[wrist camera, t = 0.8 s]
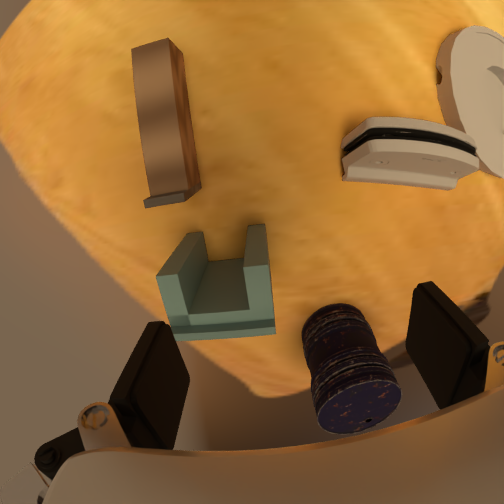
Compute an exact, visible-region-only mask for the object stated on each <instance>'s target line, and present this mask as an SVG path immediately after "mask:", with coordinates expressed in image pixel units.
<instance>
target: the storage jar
mask: <svg viewBox="0 0 504 504" xmlns="http://www.w3.org/2000/svg"><path fill="white" fill-rule="evenodd" d="M302 341H303V349H304V355H305V358H306V362H307V366H308V368H309V370H310V373H311V378H312V379H311V392H312V398H313V403H314V407H315V410H316V414H317V421H318V424H319V426H320V427H321V428H322V429H324V430H325V431H327V432H330V433H334V434H351V433H357V432H361V431H364V430H367V429H369V428H372V427H374V426H376V425H378V424H379V423H381V422H382V421H384V420H385V419H387V418H388V417H389V416H390V415H391V414H392V413H393V412H394V411H395V410H396V409H397V407H398V406H399V404H400V402H401V398H402V392H401V388H400V386H399V385H398V383H397V380H396V378H395V375H394V372H393V370H392V368H391V366H390V365H389V362H388V360H387V359H386V357H385V356H384V355H383V354H382V353H381V352H380V350H379V348H378V346H377V343H376V339H375V336H374V335H373V332H372V329H371V327H370V325H369V324H368V322H367V321H366V320H365V318H364V316H363V314H362V313H361V311H360V310H359V309H357V308H356V307H354V306H352V305H349V304H342V303H338V304H331V305H328V306H325V307H323V308H321V309H319V310H317V311H316V312H314V313H313V314H312V315H311V316H310V317H309V318H308V319H307V321H306V323H305V324H304V327H303V330H302Z"/></svg>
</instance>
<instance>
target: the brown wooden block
mask: <svg viewBox="0 0 504 504" xmlns="http://www.w3.org/2000/svg"><path fill="white" fill-rule="evenodd" d="M131 51H132V65H133V77H134V88H135V97H136V106H137V114H138V122H139V129H140V136H141V143H142V150H143V156H144V162H145V168H146V174H147V179H148V185H149V190H150V195H151V196H150V197H148V198H146V199H145V200H143V201H144V206H145V208H150V207H156V206H161V205H167V204H173V203H179V202H185V201H186V200H188V199H189V198H190V197H191V196H192V195H194V194H195V193H196V192H197V191H199V190H200V189H201V182H200V176H199V170H198V163H197V157H196V150H195V144H194V137H193V130H192V123H191V115H190V108H189V101H188V93H187V85H186V77H185V68H184V60H183V53H182V52H181V51H180V50H179V49H178V48H177V47H176V46H175V45H174V43H173V42H172V41H171V40H170V39H169V38H166V39H162V40H159V41H155V42H152V43H148V44H145V45H142V46H139V47H136V48H133V49H131Z"/></svg>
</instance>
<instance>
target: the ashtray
mask: <svg viewBox="0 0 504 504" xmlns="http://www.w3.org/2000/svg"><path fill="white" fill-rule="evenodd" d="M436 68H437V69H438V70H439V72H440V73H441V75H442V81H441V84H440V85H438V84H436V86H437V94H438V100H439V103H440V106H441V110H442V113H443V117H444V120H445V122H446V124H447V126H449V127H452V128H454V129H457V130H459V131H461V132H464V133H465V134H467V135H469V136H470V137H472V138H473V139H474V141H475V144H476V146H477V150H476V153H475V155H476V156H477V158H479V170H481V171H483V172H486V173H489V174H492V175H494V176H496V177H500V178H504V37H502V36H501V35H500V34H499V33H497V32H495V31H493V30H491V29H489V28H487V27H482V26H475V25H474V26H471V27H468V28H465V29H462V30H460V31H458V32H455V33H453V34H451V35H449V36H448V37H447V38H446V39H445V41H444V42H443V43H442V44H441V47H440V49H439V52H438V55H437V58H436Z"/></svg>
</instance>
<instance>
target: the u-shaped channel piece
mask: <svg viewBox="0 0 504 504" xmlns="http://www.w3.org/2000/svg"><path fill="white" fill-rule="evenodd" d="M156 279H157V283H158V286H159V290H160V293H161V296H162V300H163V303H164V306H165V310H166V313H167V316H168V319H169V322H170V325H171V330H172V333H173V335H174V338H175V341H192V340H211V339H227V338H240V337H252V336H263V335H273V334H276V329H275V317H274V306H273V294H272V283H271V272H270V263H269V254H268V246H267V237H266V229H265V224H259V225H250V226H248V230H247V239H246V247H245V256H244V258H239V259H230V260H221V261H212V262H209V261H208V256H207V251H206V246H205V241H204V235H203V232H195V233H188V234H186V236H185V237H184V238H183V240H182V241H181V242H180V244H179V245H178V246H177V248H176V249H175V250H174V252H173V253H172V254H171V256H170V257H169V259H168V260H167V261H166V263H165V264H164V266H163V267H162V268H161V270H160V271H159V272H158V274H157V275H156Z"/></svg>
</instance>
